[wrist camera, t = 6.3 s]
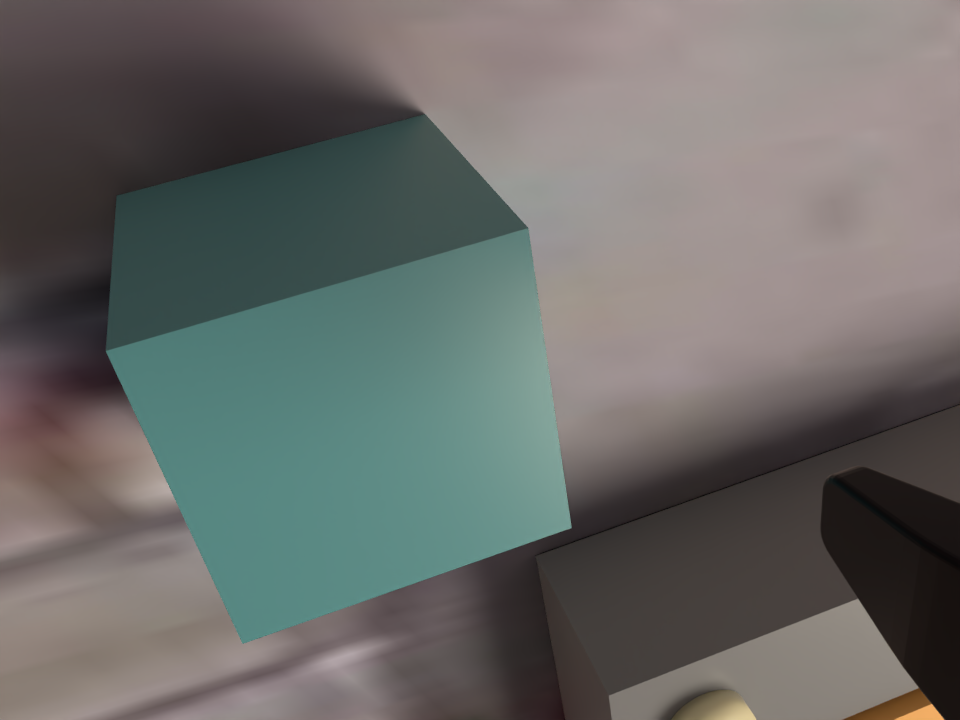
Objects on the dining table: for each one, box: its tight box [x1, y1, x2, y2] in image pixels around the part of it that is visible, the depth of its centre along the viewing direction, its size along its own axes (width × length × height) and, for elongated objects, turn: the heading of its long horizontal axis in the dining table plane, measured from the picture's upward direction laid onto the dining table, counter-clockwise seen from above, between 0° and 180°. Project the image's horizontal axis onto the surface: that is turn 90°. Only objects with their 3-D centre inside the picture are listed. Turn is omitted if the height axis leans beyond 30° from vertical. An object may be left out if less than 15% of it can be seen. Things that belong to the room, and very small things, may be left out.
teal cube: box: [106, 114, 572, 643], centre depth 14 cm, size 5×5×5 cm
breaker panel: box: [536, 405, 960, 720], centre depth 24 cm, size 14×14×4 cm
